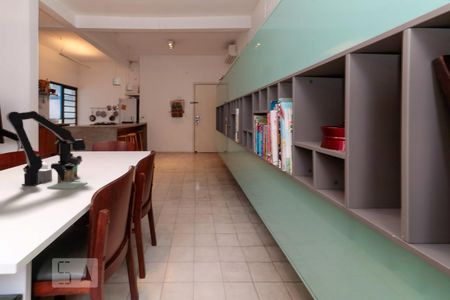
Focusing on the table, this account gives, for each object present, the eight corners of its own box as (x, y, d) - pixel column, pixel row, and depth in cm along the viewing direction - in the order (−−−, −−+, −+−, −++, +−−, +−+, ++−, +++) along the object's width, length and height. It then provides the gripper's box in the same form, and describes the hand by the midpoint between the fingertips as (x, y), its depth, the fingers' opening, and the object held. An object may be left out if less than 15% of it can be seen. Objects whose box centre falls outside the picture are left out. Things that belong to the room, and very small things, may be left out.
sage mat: (73, 188, 159) (73, 187, 158) (47, 188, 159) (47, 186, 159) (87, 183, 172) (87, 182, 172) (62, 182, 173) (62, 181, 173)
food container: (73, 178, 187) (72, 161, 186) (62, 177, 187) (62, 161, 186) (82, 174, 199) (82, 158, 198) (73, 174, 199) (72, 158, 199)
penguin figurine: (47, 160, 196) (51, 164, 187) (47, 174, 197) (51, 178, 188) (35, 161, 192) (39, 165, 182) (36, 174, 193) (39, 179, 184)
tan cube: (68, 182, 175) (67, 171, 174) (57, 181, 175) (57, 171, 175) (73, 180, 181) (73, 169, 180) (63, 179, 181) (63, 169, 181)
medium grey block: (45, 181, 176) (45, 171, 175) (35, 181, 176) (34, 170, 175) (52, 179, 182) (51, 169, 181) (42, 179, 182) (41, 169, 181)
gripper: (69, 153, 167) (70, 182, 168) (87, 150, 185) (87, 176, 187) (49, 153, 167) (50, 182, 169) (68, 150, 186) (69, 176, 187)
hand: (65, 179), depth 178 cm, fingers closed on tan cube, 6 cm apart
